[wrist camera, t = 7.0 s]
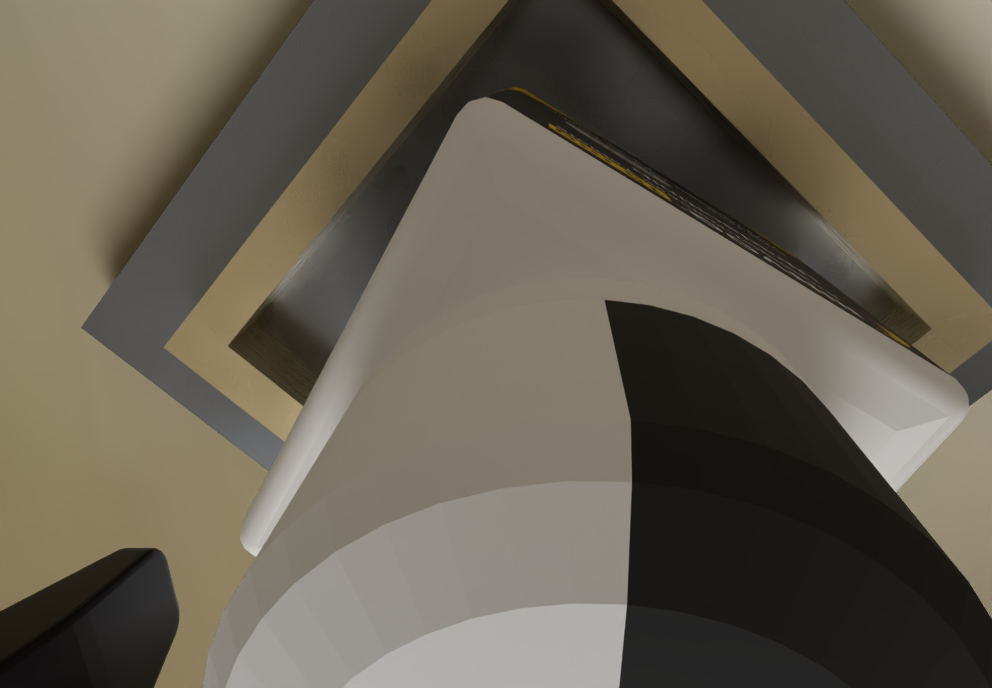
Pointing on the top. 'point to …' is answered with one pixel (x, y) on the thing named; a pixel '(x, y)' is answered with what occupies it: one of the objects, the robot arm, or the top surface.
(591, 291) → the medicine bottle
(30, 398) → the top surface
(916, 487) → the top surface
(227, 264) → the picture frame
